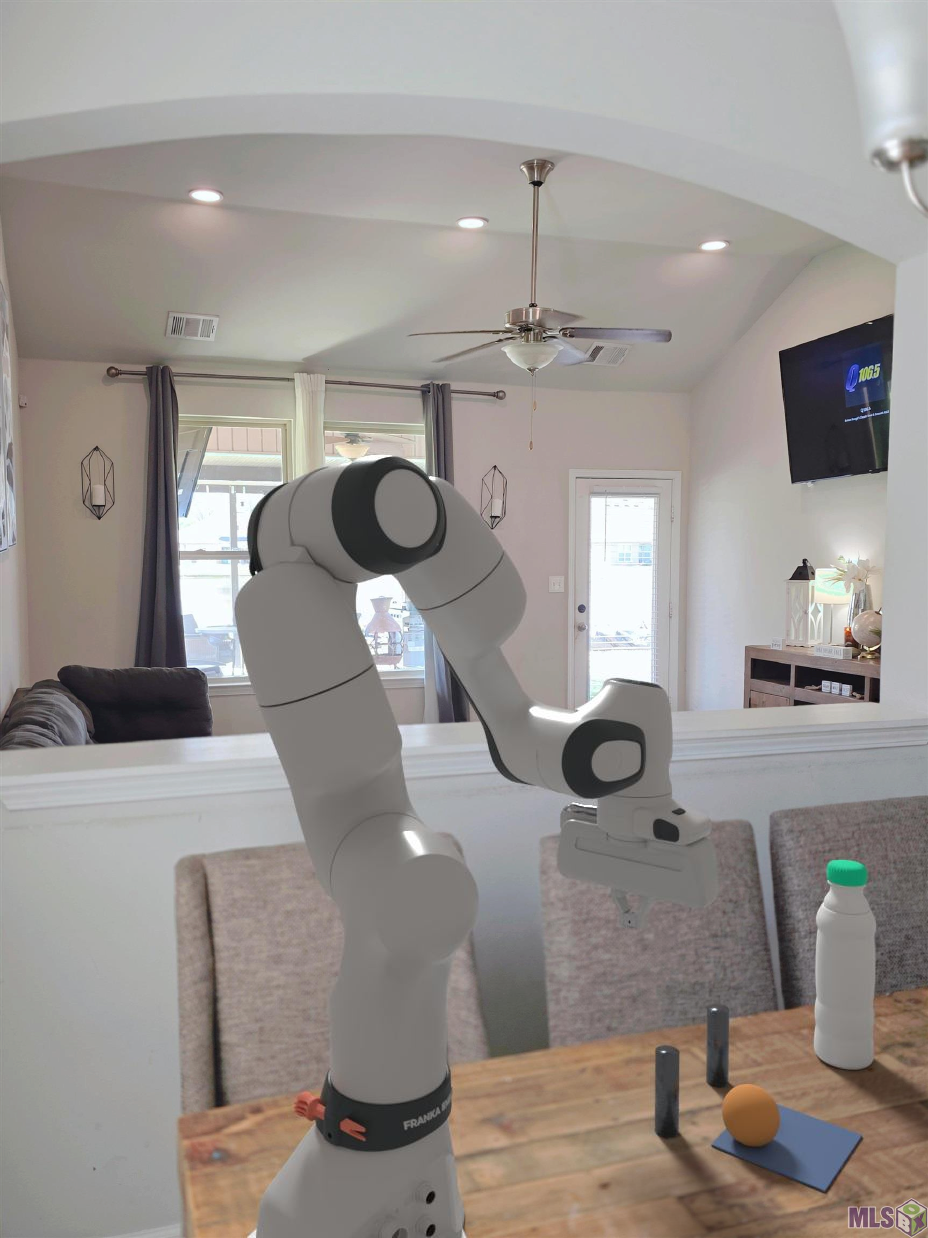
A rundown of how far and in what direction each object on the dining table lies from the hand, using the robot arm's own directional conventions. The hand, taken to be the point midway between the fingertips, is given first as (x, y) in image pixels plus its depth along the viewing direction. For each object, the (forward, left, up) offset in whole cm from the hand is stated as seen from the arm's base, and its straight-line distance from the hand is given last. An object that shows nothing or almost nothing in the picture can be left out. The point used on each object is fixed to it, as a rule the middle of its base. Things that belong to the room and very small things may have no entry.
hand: (633, 927), depth 113 cm
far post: (+7, -8, -19) cm, 22 cm away
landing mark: (0, -19, -19) cm, 27 cm away
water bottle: (+22, -18, -19) cm, 34 cm away
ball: (-3, -16, -16) cm, 23 cm away
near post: (-6, -8, -19) cm, 22 cm away
